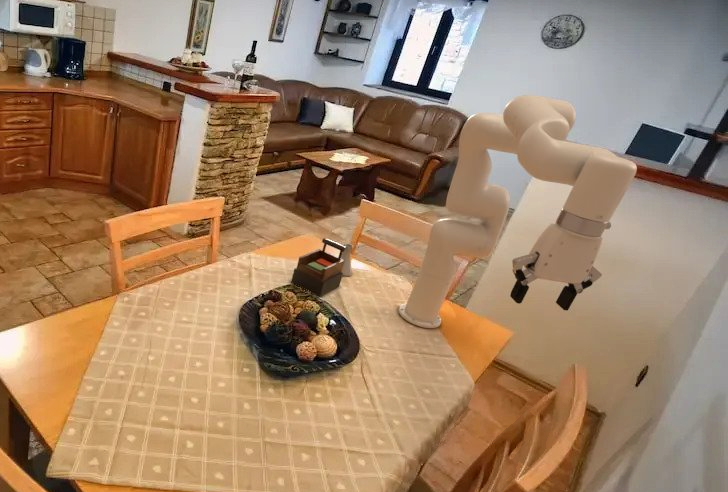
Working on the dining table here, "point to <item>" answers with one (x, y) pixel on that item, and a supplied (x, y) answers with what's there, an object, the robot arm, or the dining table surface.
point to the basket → (319, 254)
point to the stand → (316, 282)
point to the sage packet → (316, 267)
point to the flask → (347, 260)
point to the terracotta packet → (323, 262)
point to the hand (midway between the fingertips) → (538, 303)
